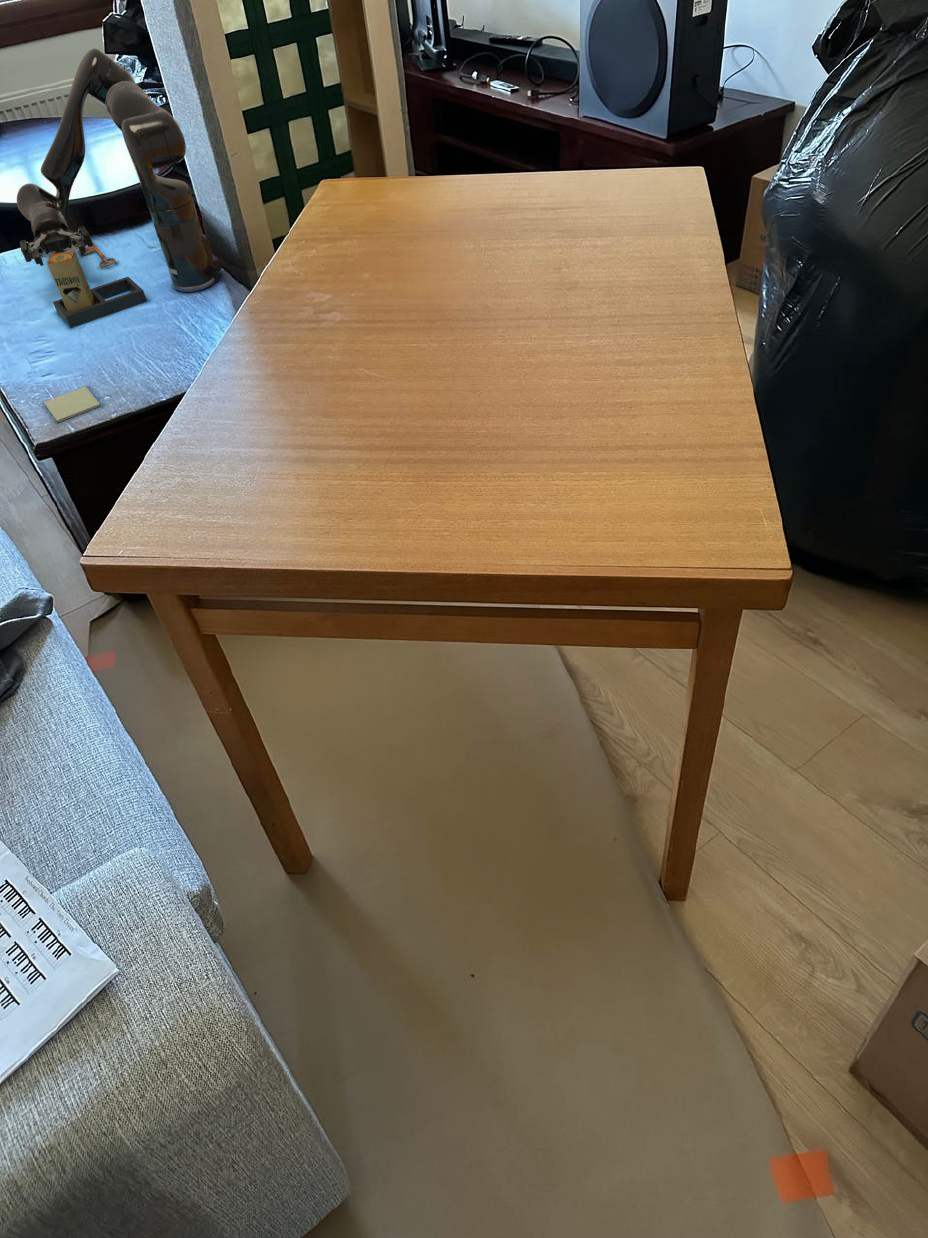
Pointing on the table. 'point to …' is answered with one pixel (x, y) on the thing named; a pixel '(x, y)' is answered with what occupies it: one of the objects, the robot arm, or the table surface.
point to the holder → (104, 302)
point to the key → (100, 256)
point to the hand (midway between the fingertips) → (60, 255)
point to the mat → (71, 404)
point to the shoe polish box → (70, 281)
